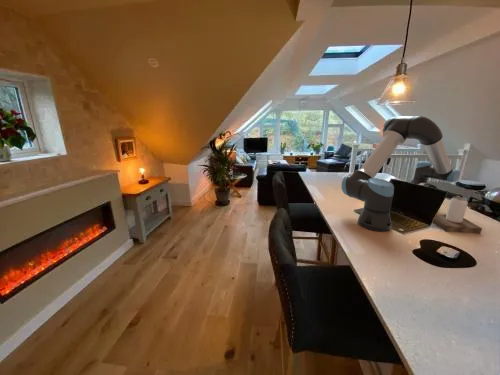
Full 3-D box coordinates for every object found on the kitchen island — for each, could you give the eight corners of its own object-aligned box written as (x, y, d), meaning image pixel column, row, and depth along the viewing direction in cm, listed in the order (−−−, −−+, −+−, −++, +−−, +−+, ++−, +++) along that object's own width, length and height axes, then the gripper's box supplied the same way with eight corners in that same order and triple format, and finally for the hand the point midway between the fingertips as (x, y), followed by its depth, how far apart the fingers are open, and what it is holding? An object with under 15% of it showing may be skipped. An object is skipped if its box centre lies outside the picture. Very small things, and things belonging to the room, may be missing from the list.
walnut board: (445, 231, 110) (446, 225, 110) (427, 218, 125) (428, 213, 124) (480, 233, 108) (482, 228, 107) (457, 220, 122) (459, 215, 122)
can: (465, 223, 112) (472, 200, 108) (450, 222, 113) (456, 199, 110) (457, 218, 118) (463, 196, 114) (442, 217, 119) (448, 195, 116)
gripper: (448, 196, 138) (476, 209, 118) (404, 194, 142) (422, 206, 122) (452, 184, 136) (480, 196, 116) (406, 182, 139) (426, 193, 119)
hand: (450, 201), depth 118 cm, fingers open, 13 cm apart
